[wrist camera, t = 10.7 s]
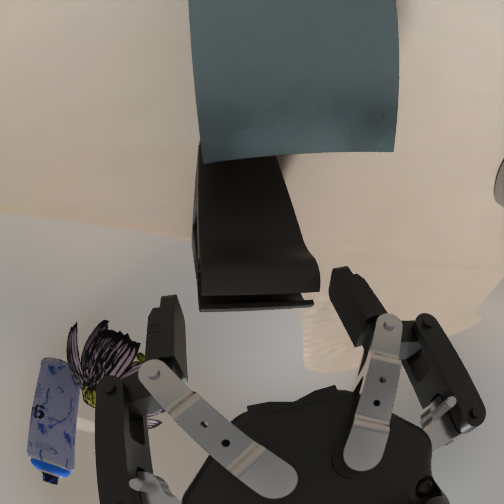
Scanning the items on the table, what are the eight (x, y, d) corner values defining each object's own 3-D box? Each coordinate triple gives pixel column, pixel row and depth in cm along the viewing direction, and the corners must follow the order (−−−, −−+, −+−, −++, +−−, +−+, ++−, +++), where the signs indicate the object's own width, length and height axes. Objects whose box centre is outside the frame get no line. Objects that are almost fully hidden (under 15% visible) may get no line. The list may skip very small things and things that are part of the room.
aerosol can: (55, 353, 30) (38, 478, 14) (91, 378, 35) (87, 493, 19) (33, 362, 31) (16, 470, 15) (66, 385, 35) (59, 486, 19)
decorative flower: (80, 363, 17) (179, 453, 22) (142, 287, 27) (208, 378, 33) (28, 361, 22) (103, 435, 27) (76, 307, 32) (135, 380, 37)
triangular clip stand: (198, 143, 19) (206, 215, 10) (273, 150, 21) (346, 223, 11) (191, 242, 24) (198, 355, 15) (255, 243, 26) (294, 348, 16)
